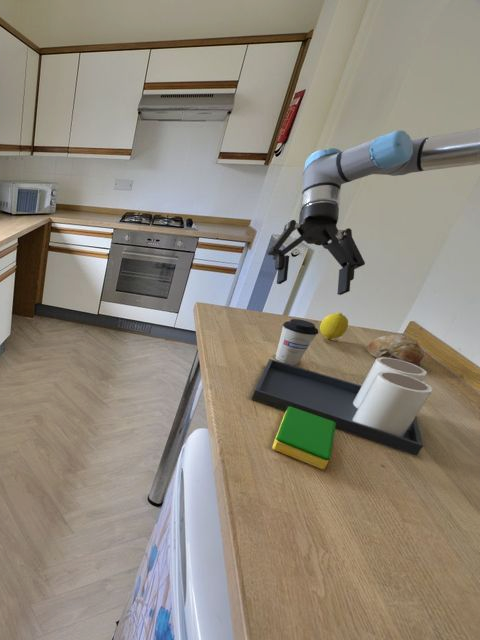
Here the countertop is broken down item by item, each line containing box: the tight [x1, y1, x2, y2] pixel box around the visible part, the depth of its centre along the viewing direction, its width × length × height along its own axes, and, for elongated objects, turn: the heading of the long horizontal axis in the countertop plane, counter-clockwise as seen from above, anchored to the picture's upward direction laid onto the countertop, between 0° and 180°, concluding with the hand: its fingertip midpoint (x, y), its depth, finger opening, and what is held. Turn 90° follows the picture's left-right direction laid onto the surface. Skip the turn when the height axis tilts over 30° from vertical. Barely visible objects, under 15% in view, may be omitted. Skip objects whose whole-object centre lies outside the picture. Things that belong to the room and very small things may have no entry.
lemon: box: [319, 312, 349, 340], centre depth 112 cm, size 6×6×8 cm
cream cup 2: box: [352, 371, 433, 437], centre depth 73 cm, size 7×7×10 cm
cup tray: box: [251, 358, 424, 457], centre depth 83 cm, size 24×19×2 cm
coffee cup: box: [275, 318, 319, 366], centre depth 99 cm, size 7×7×10 cm
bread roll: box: [366, 334, 425, 366], centre depth 104 cm, size 10×10×8 cm
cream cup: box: [353, 357, 428, 408], centre depth 79 cm, size 7×7×10 cm
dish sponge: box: [271, 407, 336, 470], centre depth 71 cm, size 7×14×2 cm, turn 137°
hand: (312, 287), depth 99 cm, fingers open, 13 cm apart
